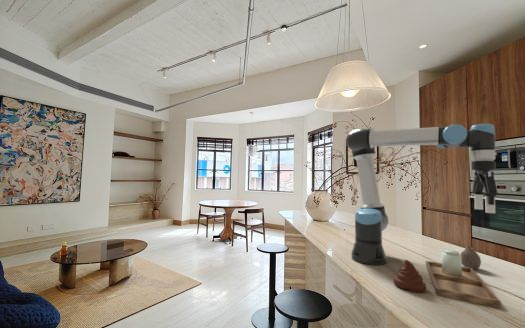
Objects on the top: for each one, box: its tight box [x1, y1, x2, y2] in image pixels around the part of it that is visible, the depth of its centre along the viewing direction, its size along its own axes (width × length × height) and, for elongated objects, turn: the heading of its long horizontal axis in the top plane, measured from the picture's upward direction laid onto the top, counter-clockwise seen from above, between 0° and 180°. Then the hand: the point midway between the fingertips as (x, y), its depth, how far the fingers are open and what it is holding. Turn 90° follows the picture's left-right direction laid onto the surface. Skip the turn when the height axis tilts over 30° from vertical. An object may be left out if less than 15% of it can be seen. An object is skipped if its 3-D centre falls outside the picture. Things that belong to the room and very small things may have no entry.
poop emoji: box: [392, 259, 427, 294], centre depth 84 cm, size 10×8×9 cm
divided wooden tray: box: [425, 260, 502, 309], centre depth 88 cm, size 16×31×2 cm, turn 150°
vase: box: [460, 246, 482, 271], centre depth 104 cm, size 7×7×9 cm
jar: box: [440, 248, 463, 277], centre depth 95 cm, size 6×6×9 cm
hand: (484, 211), depth 99 cm, fingers open, 13 cm apart
